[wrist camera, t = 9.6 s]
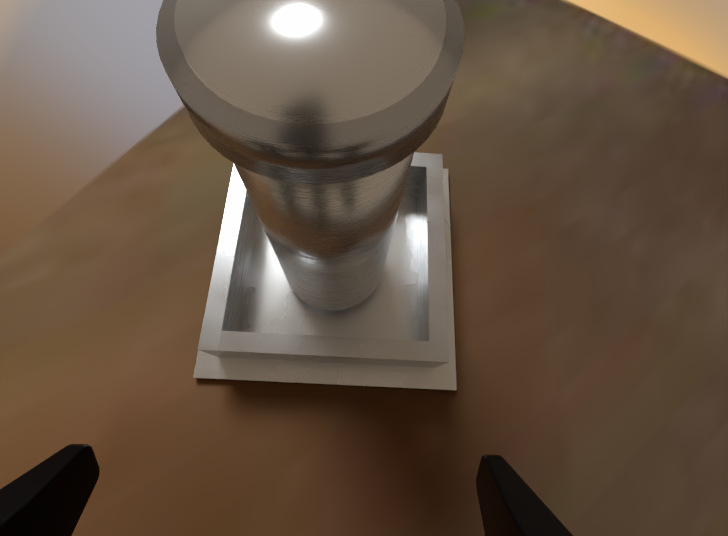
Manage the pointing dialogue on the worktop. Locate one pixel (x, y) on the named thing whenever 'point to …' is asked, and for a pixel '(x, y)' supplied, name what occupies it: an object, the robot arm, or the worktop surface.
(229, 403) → the worktop surface
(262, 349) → the collar
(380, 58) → the lidded steel tumbler
